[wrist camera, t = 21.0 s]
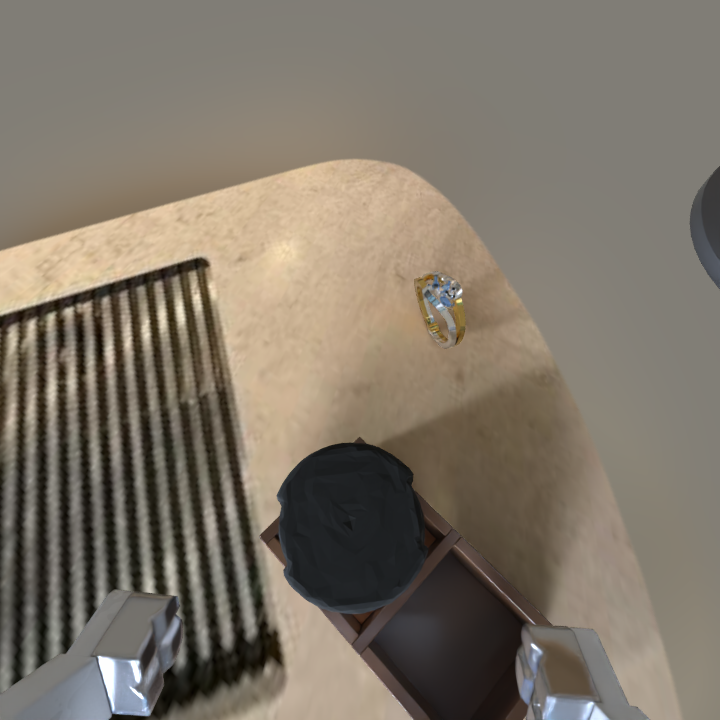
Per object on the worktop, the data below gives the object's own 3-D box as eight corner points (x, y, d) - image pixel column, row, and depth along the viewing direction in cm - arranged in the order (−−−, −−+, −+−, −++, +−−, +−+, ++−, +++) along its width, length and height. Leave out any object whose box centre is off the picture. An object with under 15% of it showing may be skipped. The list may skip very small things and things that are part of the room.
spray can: (396, 489, 38) (414, 424, 19) (411, 579, 35) (450, 601, 17) (316, 502, 38) (259, 448, 19) (326, 593, 35) (270, 631, 17)
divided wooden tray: (544, 633, 34) (575, 646, 29) (456, 752, 32) (473, 790, 26) (361, 452, 40) (359, 436, 35) (275, 539, 37) (258, 536, 32)
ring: (462, 355, 44) (480, 314, 36) (431, 366, 43) (442, 327, 36) (433, 297, 46) (444, 247, 39) (403, 306, 46) (409, 259, 39)
